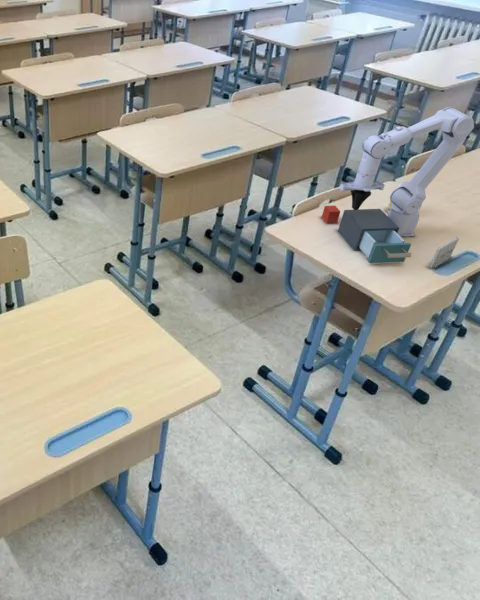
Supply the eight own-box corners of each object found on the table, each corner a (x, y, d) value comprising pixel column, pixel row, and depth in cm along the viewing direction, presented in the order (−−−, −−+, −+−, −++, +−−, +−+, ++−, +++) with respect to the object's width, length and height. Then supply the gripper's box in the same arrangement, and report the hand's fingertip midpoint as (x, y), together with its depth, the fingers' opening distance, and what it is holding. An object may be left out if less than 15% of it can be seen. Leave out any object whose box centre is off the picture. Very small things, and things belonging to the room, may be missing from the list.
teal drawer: (411, 270, 179) (419, 252, 175) (376, 271, 179) (383, 253, 175) (385, 242, 193) (392, 225, 189) (352, 243, 193) (358, 226, 188)
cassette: (432, 269, 181) (441, 249, 176) (426, 266, 182) (435, 247, 178) (451, 258, 186) (461, 238, 182) (446, 255, 188) (455, 236, 183)
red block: (331, 217, 209) (335, 205, 206) (336, 223, 206) (340, 211, 203) (321, 217, 209) (324, 205, 206) (326, 223, 205) (329, 211, 202)
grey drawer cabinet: (391, 249, 191) (399, 227, 186) (354, 250, 190) (361, 229, 185) (372, 229, 202) (380, 208, 197) (337, 230, 201) (344, 209, 196)
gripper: (351, 178, 181) (339, 214, 189) (394, 176, 182) (380, 213, 190) (341, 169, 187) (330, 205, 195) (383, 167, 187) (370, 203, 196)
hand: (354, 208), depth 193 cm, fingers closed
